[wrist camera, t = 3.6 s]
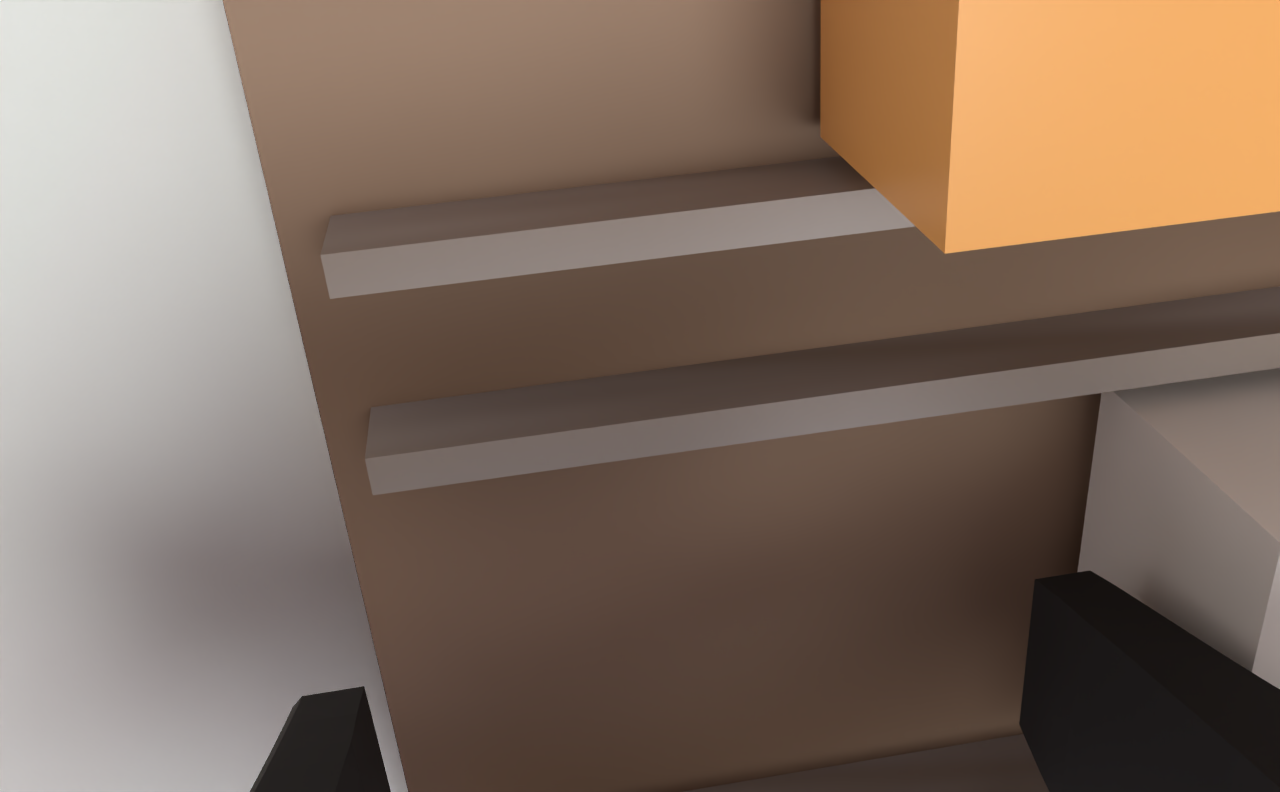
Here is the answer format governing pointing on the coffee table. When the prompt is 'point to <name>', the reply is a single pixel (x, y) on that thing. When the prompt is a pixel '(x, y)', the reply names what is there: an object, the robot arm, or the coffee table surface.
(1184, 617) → the white slider
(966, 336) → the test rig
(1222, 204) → the orange slider
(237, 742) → the coffee table surface
